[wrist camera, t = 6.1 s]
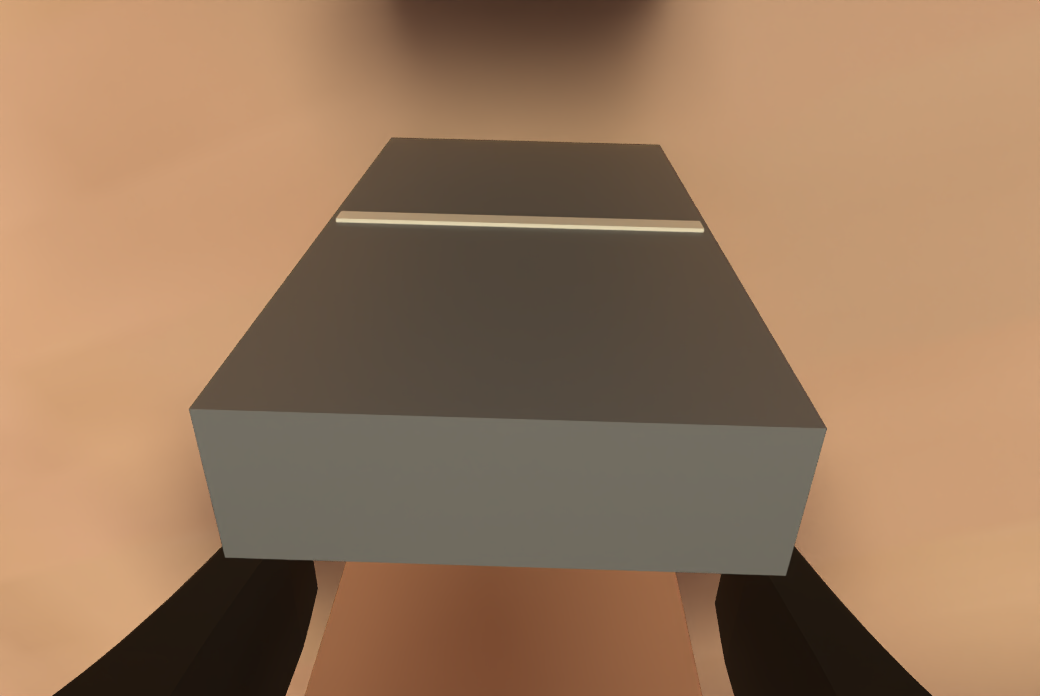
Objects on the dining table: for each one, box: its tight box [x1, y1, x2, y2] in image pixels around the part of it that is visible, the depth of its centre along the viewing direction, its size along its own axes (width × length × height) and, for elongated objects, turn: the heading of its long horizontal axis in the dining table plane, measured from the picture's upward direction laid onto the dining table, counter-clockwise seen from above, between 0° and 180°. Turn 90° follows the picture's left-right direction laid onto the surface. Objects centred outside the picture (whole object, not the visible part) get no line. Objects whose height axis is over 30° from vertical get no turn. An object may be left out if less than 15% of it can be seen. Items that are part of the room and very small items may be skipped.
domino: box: [189, 138, 827, 576], centre depth 10 cm, size 5×2×9 cm, turn 89°
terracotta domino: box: [305, 561, 702, 696], centre depth 12 cm, size 5×2×9 cm, turn 89°
